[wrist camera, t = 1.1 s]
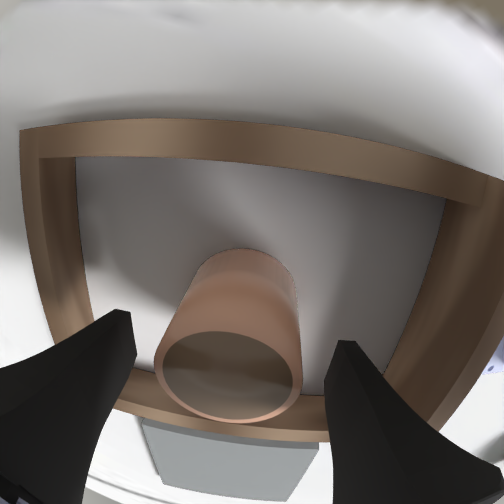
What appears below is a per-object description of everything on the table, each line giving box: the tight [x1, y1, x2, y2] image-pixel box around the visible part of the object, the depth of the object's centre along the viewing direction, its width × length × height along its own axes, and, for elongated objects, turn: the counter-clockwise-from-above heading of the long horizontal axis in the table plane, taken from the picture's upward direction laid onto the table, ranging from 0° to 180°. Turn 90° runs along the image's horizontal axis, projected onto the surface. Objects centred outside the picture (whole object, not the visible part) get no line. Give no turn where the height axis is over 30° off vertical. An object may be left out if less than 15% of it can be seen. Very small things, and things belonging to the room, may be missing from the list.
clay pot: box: [154, 248, 303, 423], centre depth 11 cm, size 5×5×5 cm
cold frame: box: [20, 118, 504, 442], centre depth 11 cm, size 18×14×5 cm
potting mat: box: [142, 418, 319, 502], centre depth 20 cm, size 12×12×1 cm
